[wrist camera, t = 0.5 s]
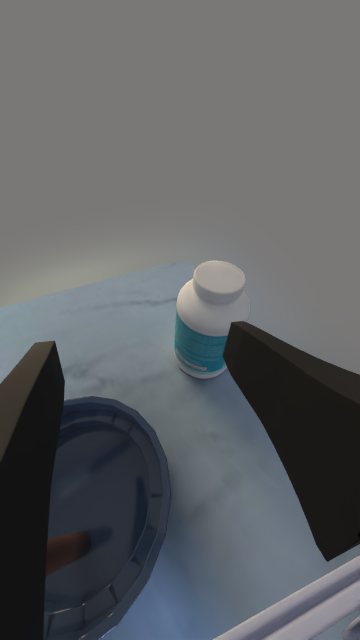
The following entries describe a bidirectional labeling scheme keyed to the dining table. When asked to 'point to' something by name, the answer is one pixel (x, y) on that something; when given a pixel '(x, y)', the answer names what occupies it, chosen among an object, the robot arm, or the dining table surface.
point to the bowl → (104, 515)
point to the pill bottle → (208, 317)
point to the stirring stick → (65, 550)
